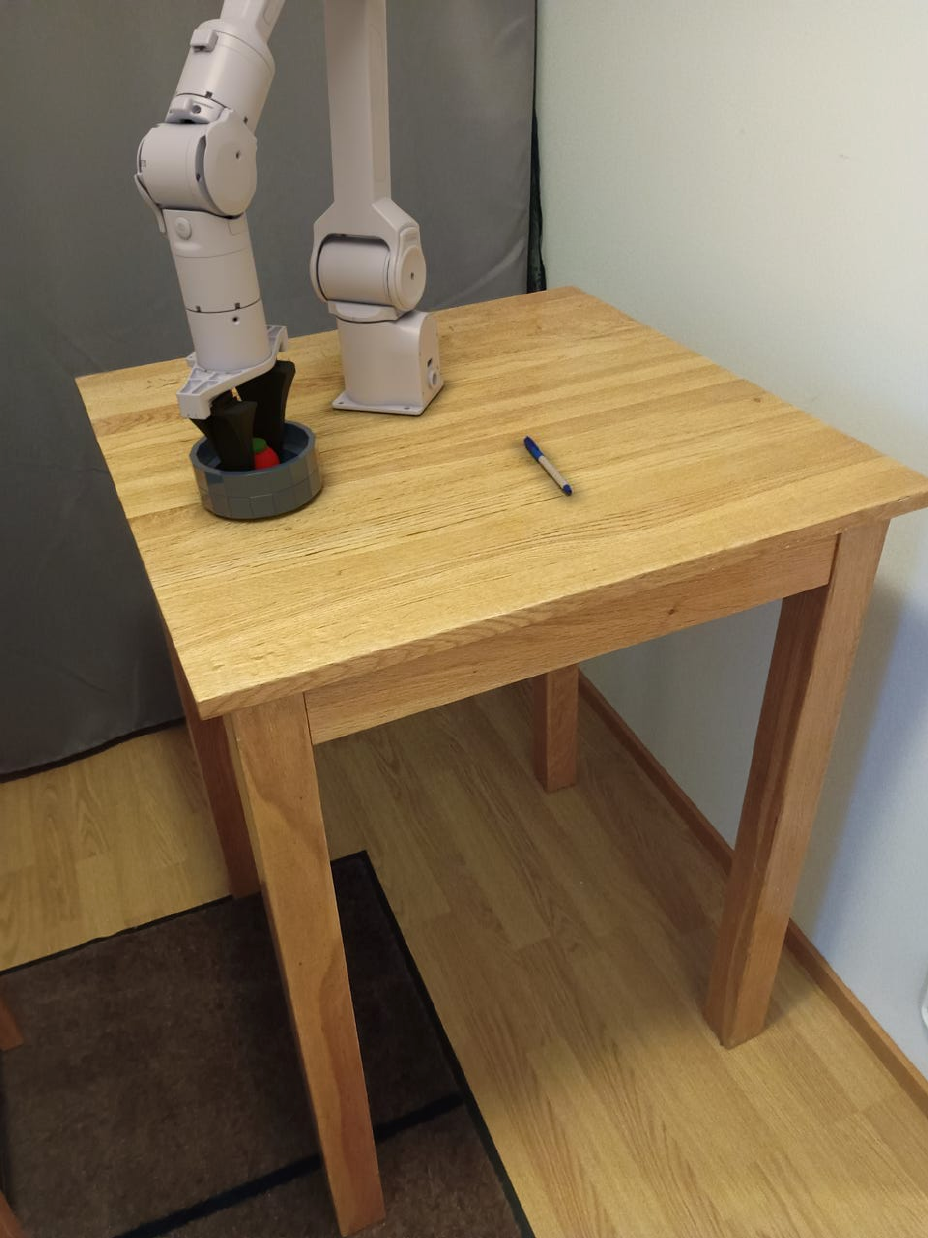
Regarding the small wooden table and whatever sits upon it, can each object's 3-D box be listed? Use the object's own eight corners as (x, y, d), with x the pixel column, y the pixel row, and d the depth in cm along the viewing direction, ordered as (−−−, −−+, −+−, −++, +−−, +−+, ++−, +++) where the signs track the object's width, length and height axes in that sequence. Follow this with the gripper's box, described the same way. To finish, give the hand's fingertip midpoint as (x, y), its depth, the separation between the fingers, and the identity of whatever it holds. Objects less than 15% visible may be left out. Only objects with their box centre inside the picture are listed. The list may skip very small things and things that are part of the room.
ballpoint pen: (520, 444, 85) (519, 434, 84) (529, 442, 85) (528, 432, 84) (566, 496, 76) (567, 486, 76) (576, 494, 77) (576, 483, 76)
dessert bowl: (342, 469, 82) (335, 423, 80) (291, 530, 75) (281, 481, 72) (238, 459, 85) (228, 414, 83) (178, 517, 77) (165, 468, 75)
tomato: (291, 478, 81) (283, 435, 78) (271, 501, 78) (262, 457, 75) (250, 474, 82) (241, 431, 79) (228, 496, 79) (218, 452, 76)
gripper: (222, 269, 77) (253, 422, 85) (123, 331, 66) (169, 499, 74) (300, 272, 75) (324, 428, 83) (210, 336, 64) (248, 508, 72)
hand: (256, 462), depth 78 cm, fingers open, 5 cm apart
